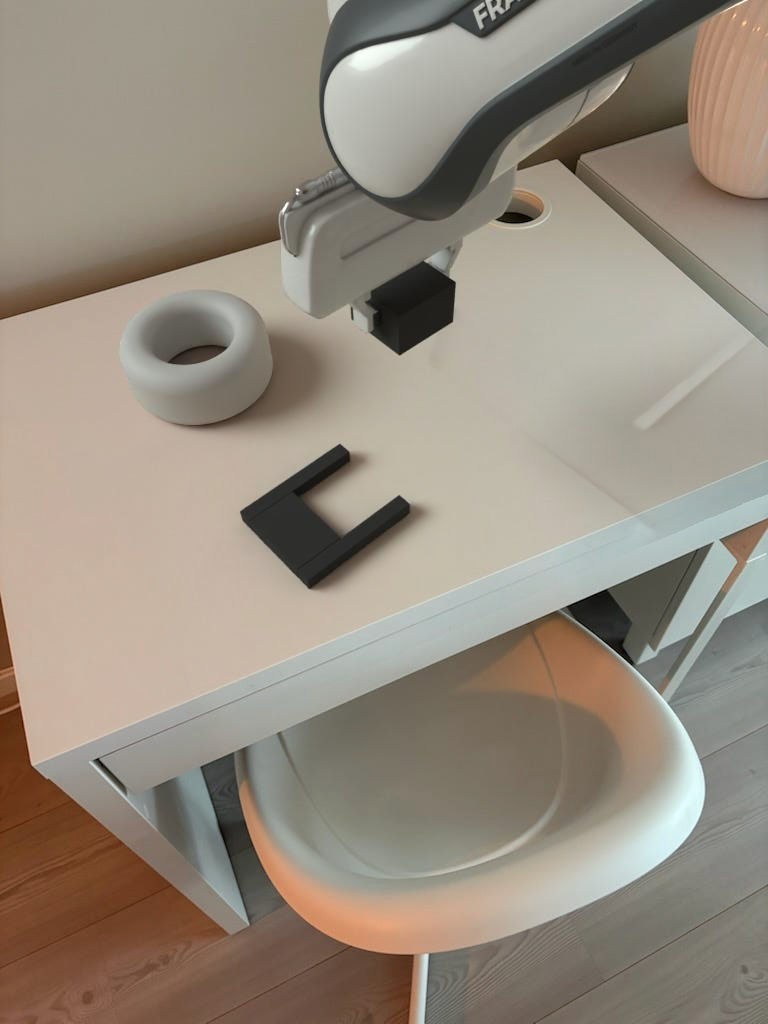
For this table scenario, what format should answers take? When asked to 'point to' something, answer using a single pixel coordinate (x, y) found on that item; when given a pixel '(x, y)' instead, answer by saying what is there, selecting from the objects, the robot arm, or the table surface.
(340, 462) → the base pad
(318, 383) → the table surface
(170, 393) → the thick torus
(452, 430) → the table surface
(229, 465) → the table surface
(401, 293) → the black block
